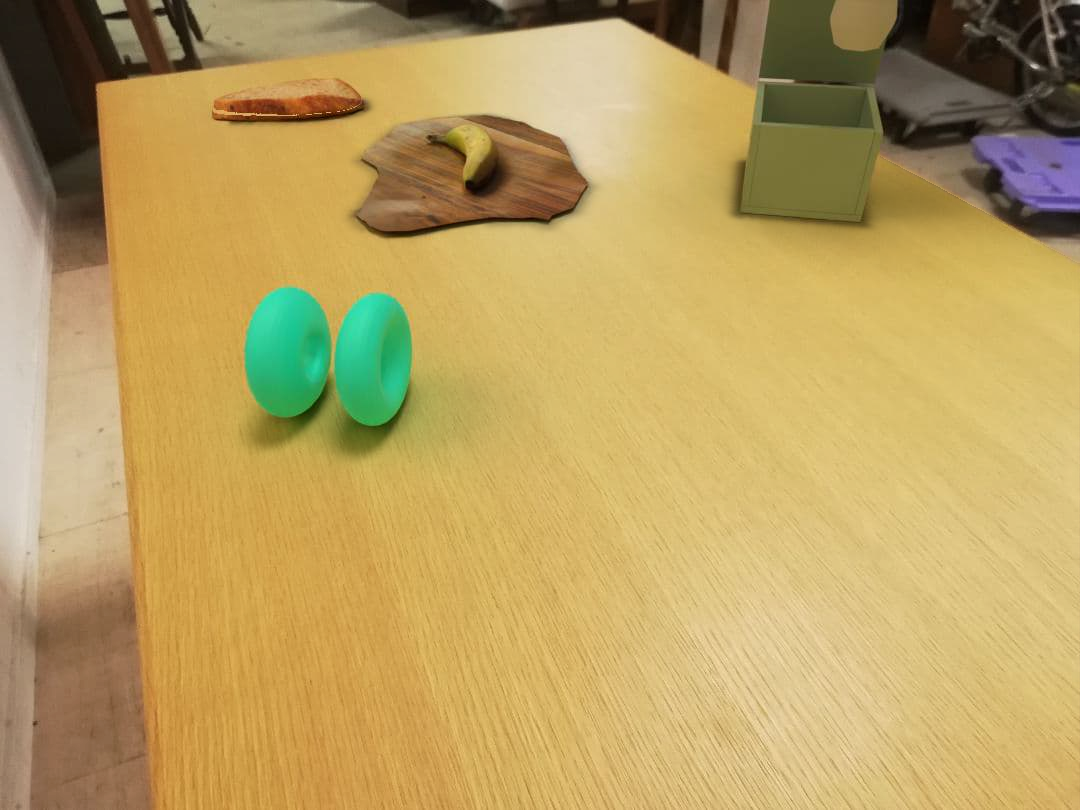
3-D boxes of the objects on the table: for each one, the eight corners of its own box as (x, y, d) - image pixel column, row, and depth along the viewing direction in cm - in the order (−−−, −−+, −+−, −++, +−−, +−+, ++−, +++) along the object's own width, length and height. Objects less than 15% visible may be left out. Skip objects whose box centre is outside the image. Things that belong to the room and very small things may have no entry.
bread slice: (203, 114, 115) (195, 88, 112) (305, 82, 125) (300, 57, 122) (271, 144, 105) (264, 116, 103) (376, 106, 115) (372, 80, 113)
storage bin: (860, 222, 84) (883, 131, 77) (740, 212, 86) (753, 124, 80) (853, 170, 94) (873, 86, 87) (746, 163, 96) (758, 80, 90)
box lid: (911, -63, 77) (907, -77, 80) (779, -65, 79) (780, -79, 83) (874, 84, 87) (872, 65, 90) (758, 78, 89) (760, 60, 93)
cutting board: (608, 217, 86) (609, 184, 84) (357, 247, 83) (351, 214, 80) (544, 109, 113) (543, 81, 110) (352, 128, 109) (347, 100, 107)
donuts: (385, 455, 58) (361, 345, 52) (259, 442, 60) (221, 334, 53) (423, 373, 66) (406, 269, 59) (310, 364, 67) (282, 261, 61)
